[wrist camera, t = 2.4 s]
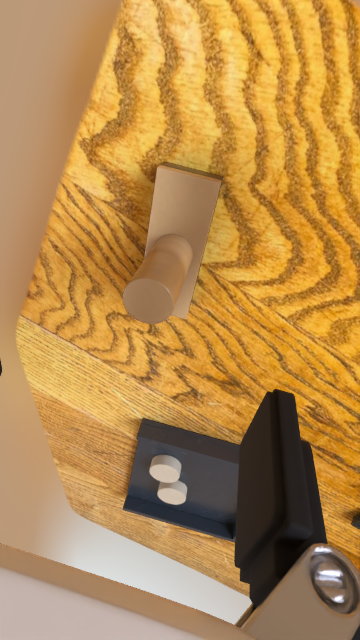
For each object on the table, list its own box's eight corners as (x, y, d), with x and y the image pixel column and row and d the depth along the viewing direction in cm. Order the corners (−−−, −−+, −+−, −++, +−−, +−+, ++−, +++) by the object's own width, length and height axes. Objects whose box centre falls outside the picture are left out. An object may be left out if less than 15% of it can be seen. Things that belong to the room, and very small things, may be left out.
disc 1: (150, 467, 35) (147, 477, 34) (154, 450, 33) (151, 461, 32) (178, 475, 35) (176, 486, 34) (184, 459, 33) (182, 470, 32)
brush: (144, 292, 24) (104, 363, 17) (164, 161, 19) (119, 190, 12) (190, 305, 24) (167, 381, 17) (223, 175, 18) (209, 213, 12)
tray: (127, 492, 40) (122, 510, 38) (143, 417, 32) (137, 435, 30) (236, 524, 40) (235, 543, 38) (281, 456, 31) (284, 477, 29)
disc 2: (157, 489, 37) (155, 499, 36) (162, 475, 36) (159, 485, 35) (184, 497, 37) (182, 507, 36) (190, 483, 35) (188, 493, 34)
